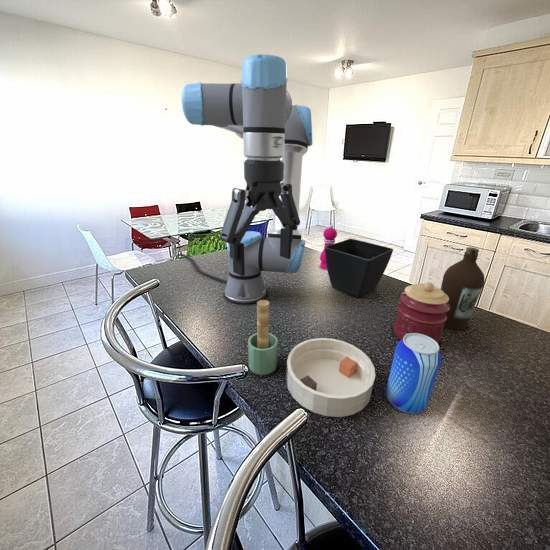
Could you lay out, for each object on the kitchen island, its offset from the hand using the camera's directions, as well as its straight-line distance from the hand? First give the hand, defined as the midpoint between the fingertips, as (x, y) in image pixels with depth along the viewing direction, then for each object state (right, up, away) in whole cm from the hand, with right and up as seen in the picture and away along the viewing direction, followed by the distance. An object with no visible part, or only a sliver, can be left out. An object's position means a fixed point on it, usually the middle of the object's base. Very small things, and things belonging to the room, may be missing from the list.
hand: (263, 264), depth 63 cm
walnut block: (+10, -28, +3) cm, 30 cm away
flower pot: (+34, -7, +53) cm, 64 cm away
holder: (-1, -25, +11) cm, 28 cm away
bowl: (+15, -28, +6) cm, 32 cm away
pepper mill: (+27, +1, +73) cm, 77 cm away
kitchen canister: (+45, -20, +25) cm, 55 cm away
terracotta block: (+20, -26, +9) cm, 34 cm away
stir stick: (-1, -25, +11) cm, 27 cm away
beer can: (+31, -30, +2) cm, 44 cm away
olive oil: (+59, -18, +32) cm, 70 cm away
